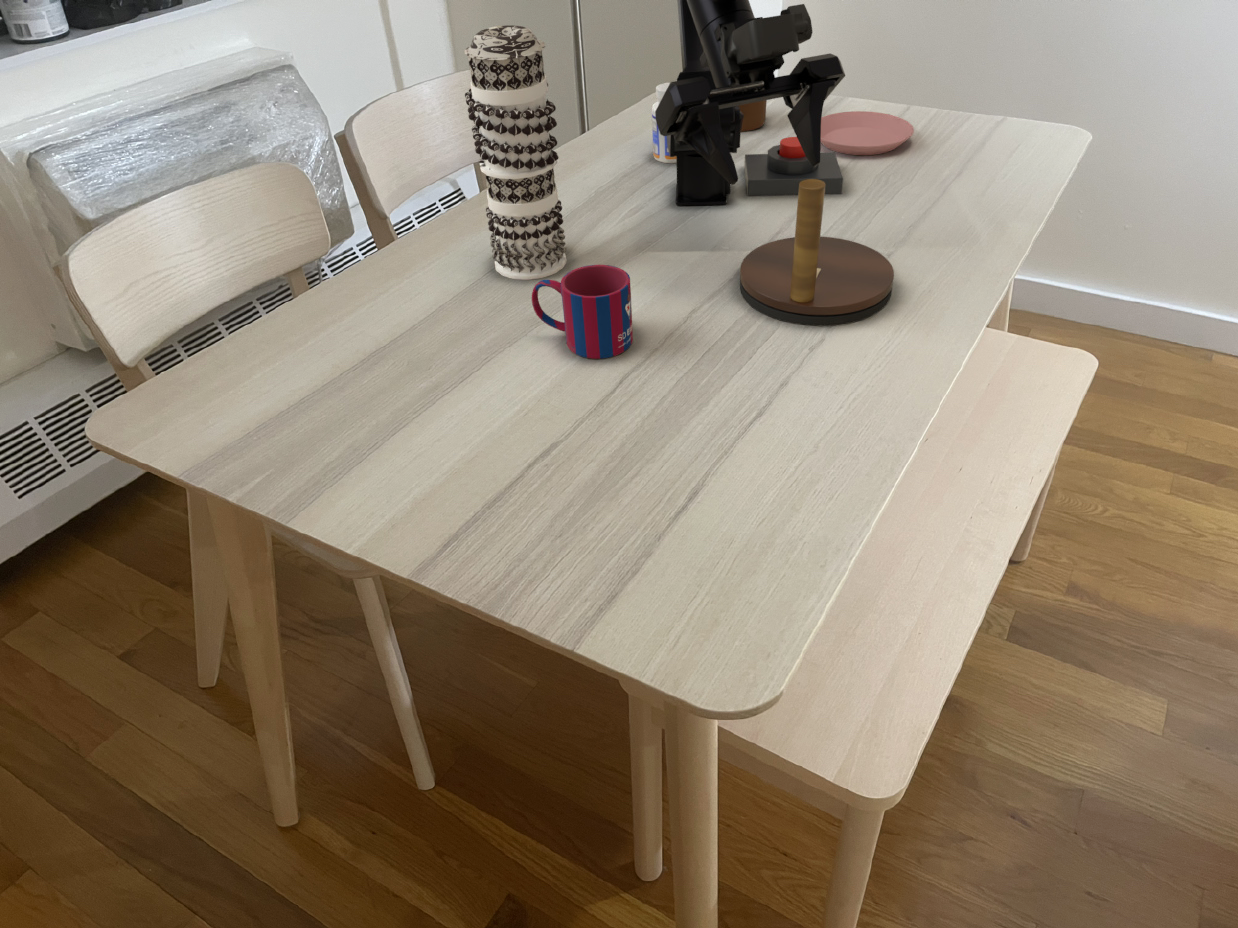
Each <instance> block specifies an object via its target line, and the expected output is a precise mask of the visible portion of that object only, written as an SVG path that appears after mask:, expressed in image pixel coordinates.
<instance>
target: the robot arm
mask: <svg viewBox="0 0 1238 928" xmlns="http://www.w3.org/2000/svg"><path fill="white" fill-rule="evenodd" d="M677 11H678V14H677V15H678V24H679V25H678V27H679V39H680V55H681V66H682V67H681V68H682V70H681V71H680V72H679V74H678V76H677V78H676V80H675V81H674V80H673V81H670V82H671V83H670V82H669V83H670V84H669V86H668V88H667V90H666V92H665V94H664V96H663V98H662V100H661V101H660V103H659V105H658V107H657V109H656V111H655V114H656V122H657V125H658V128H659V131H660V134H661V135H662V136H667V146H668V150H669V155H670V157H674V156H676V163H675V165H676V184H675V206H681V207H682V206H720V205H721V206H723V205H727V202H728V199H727V198H728V197H727V196H729V195H730V194H731V186H732V185H736V184H737V182H738V181H739V176H738V172H737V168H736V164H735V161H734V159H733V155H732V154H737V152H738V149H739V148H741V133H742V132H741V129H742V124H743V118H744V115H743V113H742V112H741V111H740V108H739V105H744V104H749V103H754V102H759V101H765V100H767V101H770V100H775V99H780V98H782V99H783V102H784V104H785V106H787V108H790V109H791V110H790V111H789V113H788V114H787V116H786V117H787V118H788V120H789V123H790V125H791V127H792V129H793V131H794V133H795V137H797V138H798V140H799V142H800V145H801V147H802V149H803V151H804V153H805V156H806V157H807V159H808V161H809V162H810V164H811V165H812V167H816V166H817V165H818V164H819V163H820V153H821V147H822V145H821V144H822V143H821V117H823V109H824V104H825V101H826V100H827V98H829V96H830V95H831V94H832V92H833V91H834V90H835V89H836V88H837V86H838V85H839V84H841V81H842V80H843V79H844V78H845V77H846V74H845V70H844V67H843V64H842V62H841V59H840V58H839V56H838V55H835V54H832V53H824V54H819V55H813V56H808V57H803V58H802V57H801V58H800V59H799V61H798V62H797V64H796V65H795V66H794V68H793V69H792V70H791V72H790V73H789V74H787V75H781V76H780V75H779V76H775V72H776V71H777V70H780V69H781V68H782V66H783V65H784V64H785V59H784V57H783V56H785V55H787V54H789V53H792V52H793V53H796V52H799V51H800V44H802V43H805V42H807V41H809V40H811V38H812V36H813V25H812V24H813V23H812V19H811V16H810V13H809V12H808V9H807V7H806V5H805V3H801V4H795V5H788V6H787V8H786V9H782V10H781V11H780V13H779V15H773V16H767V17H763V16H759V17H755V15H754V11H753V9H752V5H751V3H750V1H749V0H677Z"/></svg>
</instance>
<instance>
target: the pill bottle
mask: <svg viewBox="0 0 1238 928" xmlns="http://www.w3.org/2000/svg"><path fill="white" fill-rule="evenodd" d="M671 82H672V81H670V82H664V83H660V84H658V85H656V86H655V98H656V100H657V101H655V102H654V103H653V105H651V127H652V128H651V129H652V132H651V133H652V155H653V158H654V159H655V160H656V161H657V162H660V163H663V164H676V156H674V157H670V155H669V150H668V146H667V136H662V135H661V134H660V131H659V128H658V125H657V122H656V114H655V111H656V109H657V107H658V105H659V103H660V101H661V100H662V98H663V96H664V94H665V92H666V90H667V88H668V86H669V84H670V83H671Z"/></svg>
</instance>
